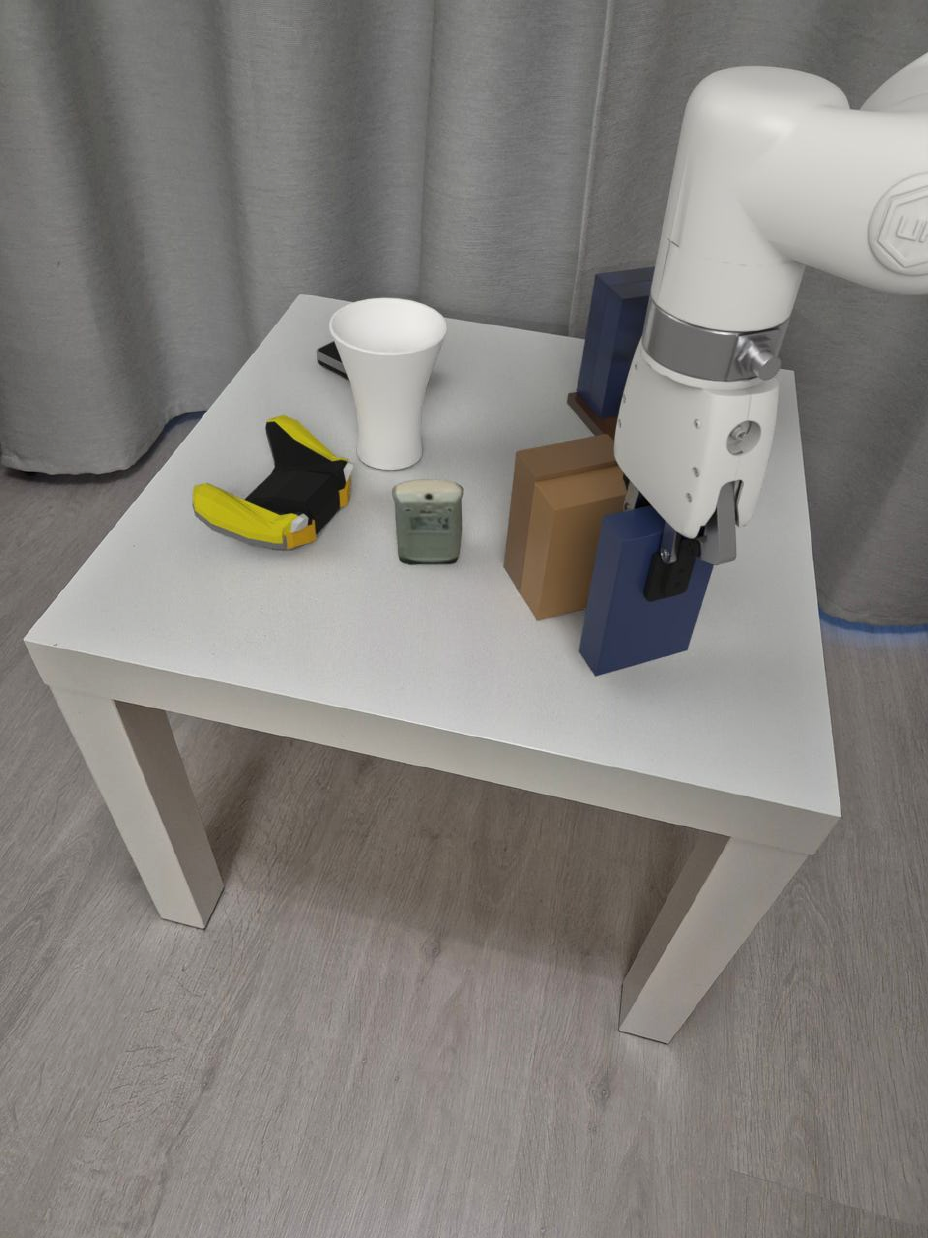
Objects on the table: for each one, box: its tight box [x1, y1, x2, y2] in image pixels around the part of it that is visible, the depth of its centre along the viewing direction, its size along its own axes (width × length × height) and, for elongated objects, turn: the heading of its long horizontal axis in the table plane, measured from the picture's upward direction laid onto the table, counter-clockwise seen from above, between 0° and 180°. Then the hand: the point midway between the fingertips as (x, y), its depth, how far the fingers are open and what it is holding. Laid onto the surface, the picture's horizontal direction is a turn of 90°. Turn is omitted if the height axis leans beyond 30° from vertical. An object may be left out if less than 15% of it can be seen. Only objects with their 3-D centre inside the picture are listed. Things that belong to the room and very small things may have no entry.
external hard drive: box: [316, 340, 349, 380], centre depth 97 cm, size 7×11×2 cm, turn 51°
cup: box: [328, 297, 448, 471], centre depth 82 cm, size 10×10×14 cm
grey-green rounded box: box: [391, 478, 465, 566], centre depth 74 cm, size 6×5×8 cm
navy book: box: [578, 505, 715, 678], centre depth 62 cm, size 8×3×13 cm, turn 112°
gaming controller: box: [192, 414, 355, 551], centre depth 78 cm, size 15×6×10 cm
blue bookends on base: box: [566, 265, 655, 441], centre depth 86 cm, size 10×18×14 cm, turn 22°
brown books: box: [503, 434, 627, 622], centre depth 71 cm, size 8×7×12 cm
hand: (651, 576), depth 61 cm, fingers closed on navy book, 2 cm apart
